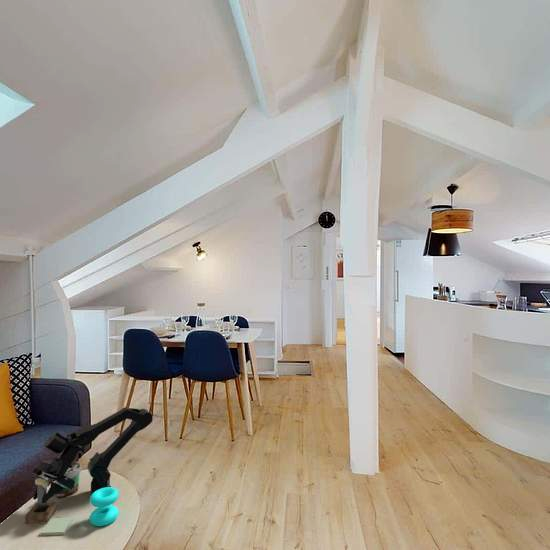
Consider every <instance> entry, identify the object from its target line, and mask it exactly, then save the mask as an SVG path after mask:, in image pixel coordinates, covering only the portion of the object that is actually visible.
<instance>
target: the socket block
mask: <svg viewBox="0 0 550 550" xmlns="http://www.w3.org/2000/svg"><path fill="white" fill-rule="evenodd" d="M58 511H59V502H58V501H54V502H53V501H51V502H48V501H47V502H46V511H45V512H37V502H36V503H35V504H34V505H33V506H32V507H31V508H30V509H29V510H28V511H27V512H26V514H25V515H24V524H25V525H27V524H28V525H29V524H31V525H32V524H48V522H49V521H50V520H51V519H52V518H53V517H54V515H55V514H56V513H57V512H58Z"/></svg>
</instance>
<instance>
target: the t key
mask: <svg viewBox="0 0 550 550" xmlns="http://www.w3.org/2000/svg"><path fill="white" fill-rule="evenodd" d="M49 482H50V481H49V480H48V481H46V480H44V479H41V478H38V479H37V478H36V479H35V481H34V484H35V485H36V487H37V485H38V487H37V498H36V503H37V512H45V511H46V502H45V503H42V500H43V499H44V497H45V495H46V493H47V492H48V489H47V488H48V487H50V484H49Z"/></svg>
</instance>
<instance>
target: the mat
mask: <svg viewBox="0 0 550 550" xmlns="http://www.w3.org/2000/svg"><path fill="white" fill-rule="evenodd" d="M74 521H75V517H56V518H53V517H52V518H51V519H50V520H49V522H48V523H46V525H45V526H44V527H43V529H42V530H41V531H40V532H39V535H40V537H42V536H64V535H65V533H67V531H68V530H69V528H70V526H71V525H72V523H73V522H74Z"/></svg>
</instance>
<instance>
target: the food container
mask: <svg viewBox="0 0 550 550" xmlns="http://www.w3.org/2000/svg"><path fill="white" fill-rule="evenodd" d="M72 466H73V467H72V468H69V469H68V470H67V472H66V473H65V475H64V476H67V477H69V478H70V479H72V480H74V481H75V485H74V487H73V488H72V489H69V488H67V487H66V486H65V488H66V489H65V490H64V489H63V490H62V491H60V492H59V493H57V494H56V498H57V499H64V498H68V497H71V496H73V495H75V494H76V493H78V490H79V485H80V474H81V472H82V465H81V463H80V462H78V461H74V464H72ZM56 477H57V476H56Z"/></svg>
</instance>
